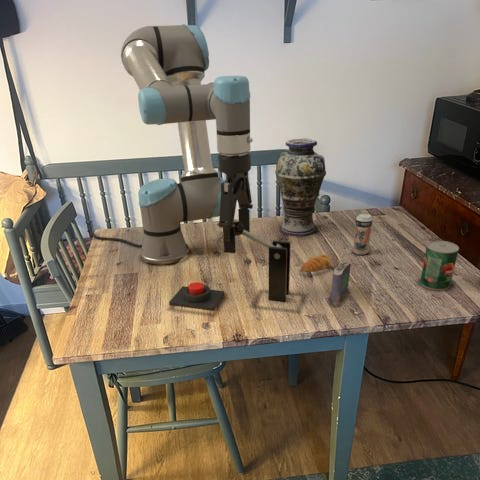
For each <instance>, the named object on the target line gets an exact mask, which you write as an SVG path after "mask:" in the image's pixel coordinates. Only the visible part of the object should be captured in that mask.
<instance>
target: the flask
mask: <svg viewBox="0 0 480 480" xmlns="http://www.w3.org/2000/svg"><path fill="white" fill-rule="evenodd" d="M336 263H338V264H337V265H336V266H335V268H334V270H333V272H332V282H331V293H330V300H331V302H334V303H338V302H340V300H341V298H342V296H343V294H344V293H346V291H348V289H349V281H350V273H351V266H352V263H351V261H349V260H342V259H338V260H337V262H336Z"/></svg>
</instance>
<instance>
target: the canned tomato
mask: <svg viewBox="0 0 480 480" xmlns="http://www.w3.org/2000/svg"><path fill="white" fill-rule="evenodd" d="M459 251H460V247H459V246H458V245H457V244H456V243H454V242H451V241H446V240H432V241H429V242H427V244H426V249H425V253H424V259H423V264H422V269H421V274H420V279H419V284H420V285H421V286H422V287H423V288H425V289H428V290H432V291H446V290H448V289H449V288H451V284H452V280H453V277H454V272H455V267H456V262H457V258H458V255H459Z"/></svg>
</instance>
